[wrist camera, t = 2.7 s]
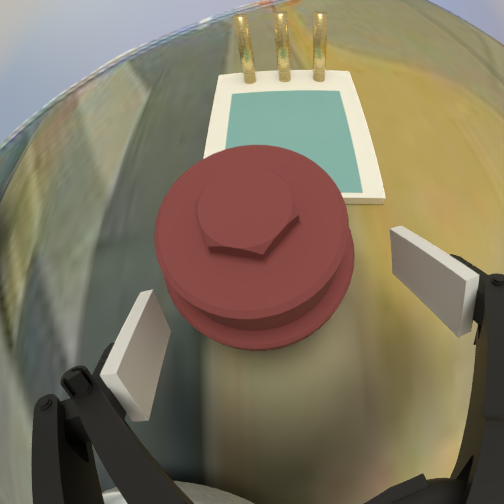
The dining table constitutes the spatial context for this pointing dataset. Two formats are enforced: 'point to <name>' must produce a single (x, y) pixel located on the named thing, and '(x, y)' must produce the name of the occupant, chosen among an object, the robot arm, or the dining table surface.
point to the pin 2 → (282, 45)
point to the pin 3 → (319, 45)
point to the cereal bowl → (204, 497)
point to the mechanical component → (255, 246)
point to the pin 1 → (245, 47)
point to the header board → (301, 125)
